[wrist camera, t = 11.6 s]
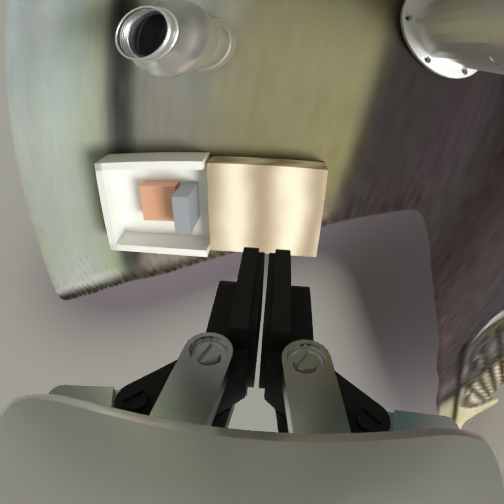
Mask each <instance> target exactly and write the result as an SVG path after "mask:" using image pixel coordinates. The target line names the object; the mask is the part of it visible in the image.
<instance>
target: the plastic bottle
mask: <svg viewBox="0 0 504 504" xmlns="http://www.w3.org/2000/svg"><path fill="white" fill-rule="evenodd" d="M115 44H116V47H117V49H118V51H119V52H120V53H121V54H122V55H123V56H124V57H126V58H128V59H130V60H133V62H134V63H135V65H136V66H137V67H138V68H139V69H141V70H142V71H144V72H145V73H147V74H149V75H151V76H154V77H159V78H171V77H175V76H179V75H182V74H184V73H187V72H189V71H191V70H193V71H197V72H212V71H215V70H218V69H220V68H221V67H223V66H224V65H226V64H227V63H228V62H229V61H230V60H231V58H232V57H233V55H234V53H235V50H236V46H237V38H236V34H235V32H234V30H233V28H232V27H231V26H230V25H229V24H228V23H227V22H225V21H223V20H221V19H218V18H212V17H209V16H208V14H207V13H206V12H205V11H204V10H203V9H202V8H201V7H200V6H198V5H196V4H195V3H193V2H190V1H187V0H167V1H164V2H160V3H157V4H155V5H153V6H150V5H146V6H140V7H137V8H135V9H133V10H131V11H130V12H128V13H127V14H126V15H125V16H124V17H123V18H122V19H121V21H120V22H119V24H118V26H117V29H116V32H115Z"/></svg>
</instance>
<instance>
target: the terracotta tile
mask: <svg viewBox="0 0 504 504" xmlns="http://www.w3.org/2000/svg"><path fill="white" fill-rule="evenodd" d="M179 186H180V181H172V180H145V181H144V182H143V183H142V184H141V185H140V186H139V190H140V197H141V204H142V211H143V217H144V220H154V221H174V216H173V206H172V196H173V194H174V193H175V192H176V190H177V189H178V188H179Z"/></svg>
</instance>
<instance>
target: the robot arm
mask: <svg viewBox="0 0 504 504" xmlns="http://www.w3.org/2000/svg"><path fill="white" fill-rule="evenodd" d="M405 17H407V18H408V21H407V20H406V18H405ZM400 24H401V30H402V34H403V37H404V40H405V42H406V44H407V46H408V48H409V49H410V51H411V52H412V54H413V55H414V56H415V58H416V59H417V60H418V61H419V62H420V63H421V64H422V65H423V66H425V67H426V68H427V69H429V70H430V71H432V72H433V73H435V74H438V75H440V76H443V77H448V78H455V79H459V78H465V77H468V76H471V75H472V74H474V73H475V72H477V71H478V70H481V71H487V72H492V73H498V74H503V75H504V0H405V1H404V3H403V5H402V8H401V14H400ZM425 58H426V61H425ZM462 70H463V72H462ZM264 257H265V252H259V248H253V247H244V250H243V255H242V260H241V264H240V269H239V274H238V280H237V282H231V281H220V282H219V286H218V289H217V293H216V297H215V300H214V304H213V308H212V312H211V316H210V319H209V323H208V327H207V331H206V333H200V334H198V335H195V336H193V337H192V338H191V339H189V340H188V342H187V343H186V345H185V346H184V348H183V350H182V352H181V354H180V356H179V358H178V360H176V361H174V362H172V363H170V364H168V365H166V366H164V367H162V368H160V369H158V370H156V371H154V372H153V373H150V374H148V375H147V376H144V377H142V378H141V379H138V380H137V381H134V382H132V383H130V384H128V385H126V386H125V387H123V388H122V389H121V390H115V389H114V387H100V386H76V385H60V386H57V387H55V388H53V389H52V390H51V391H50V392H49V394H32V395H25V396H21V397H17V398H15V399H13V400H12V401H10V402H9V403H7V404H6V405H5V407H4V408H3V409H2V410H1V412H0V504H504V465H503V462H502V460H501V457H500V455H499V453H498V451H497V449H496V447H495V446H494V445H493V443H492V442H491V441H490V440H488V439H487V438H485V437H483V436H481V435H479V434H476V433H473V432H469V431H465V430H459V427H458V425H457V424H456V422H455V421H454V420H452V419H451V418H449V417H446V416H440V415H430V414H422V413H414V412H406V411H399V410H395V411H394V412H393V413H392V412H387V411H386V410H385V409H384V408H383V407H382V406H381V405H379V404H378V403H377V402H375V401H374V400H372V399H371V398H370V397H369V396H367V395H366V394H365V393H363V392H362V391H361V390H359V389H358V388H357V387H355V386H354V385H353V384H351V383H350V382H349V381H347V380H346V379H345V378H343V377H342V376H341V375H339V374H338V373H337V372H336V371H335V370H334V367H333V363H332V360H331V356H330V354H329V352H328V350H327V349H326V348H325V347H324V346H323V345H321V344H319V343H318V342H315V341H313V327H312V311H311V297H310V288H309V287H302V286H291V251H290V250H282V249H276V250H275V253H269V265H268V277H267V290H266V301H265V312H264V324H263V336H262V351H261V364H260V378H259V388H265V394H264V397H265V400H266V401H267V402H268V403H269V404H270V405H272V406H273V407H274V411H273V413H274V420H275V429H276V432H262V431H250V430H239V429H229V428H228V426H229V423H230V420H231V417H232V414H233V411H234V407H235V403H237V402H239V401H240V400H241V399H243V398H245V395H247V388H248V387H254V380H255V370H256V361H257V351H258V340H259V330H260V321H261V310H262V293H263V276H264Z"/></svg>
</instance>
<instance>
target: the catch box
mask: <svg viewBox="0 0 504 504" xmlns="http://www.w3.org/2000/svg"><path fill="white" fill-rule="evenodd" d="M209 159H210V152H147V153H121V154H108V155H106V156H105V157H103V158H102V159H100V160H99V161H97V162H96V163H94V165H95V172H96V178H97V184H98V190H99V195H100V201H101V206H102V211H103V216H104V221H105V226H106V230H107V235H108V239H109V244H110V248H111V250H121V251H134V252H147V253H160V254H174V255H187V256H201V257H207V256H208V253H209V250H210V231H209V209H208V184H207V162H208V161H209ZM145 180H172V181H180V185H181V184H182V183H183V181H187V182H198V188H199V207H200V217H199V219H198V221H197V223H196V225H195V227H194V229H193V231H192V233H191V235H187V234H175V225H174V221H154V220H144V217H143V211H142V204H141V197H140V190H139V186H140V185H141V184H142V183H143V182H144V181H145Z"/></svg>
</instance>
